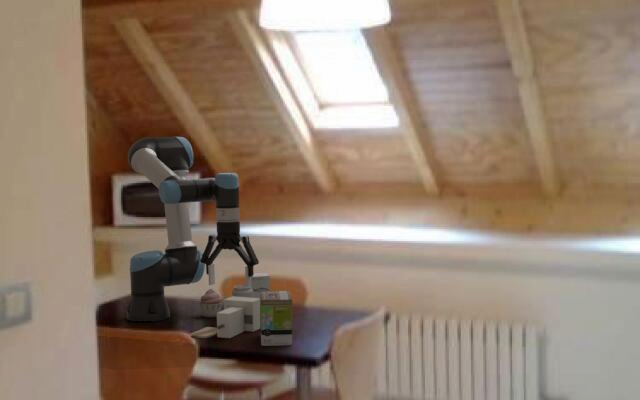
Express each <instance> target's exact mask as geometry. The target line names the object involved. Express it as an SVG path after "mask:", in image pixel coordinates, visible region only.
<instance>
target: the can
mask: <svg viewBox="0 0 640 400" xmlns="http://www.w3.org/2000/svg"><path fill="white" fill-rule="evenodd" d="M232 296H234V297H248V298H254V291H253V290H252V288H251V286H250V287H246V284H239V285H235V286H234V287H233V289H232V291H231V297H232Z"/></svg>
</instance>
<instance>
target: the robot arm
mask: <svg viewBox="0 0 640 400" xmlns="http://www.w3.org/2000/svg"><path fill="white" fill-rule="evenodd" d="M194 158H195V157H194V152H193V148H192V144H191V143H190V141H189V140H188V139H187V138H185V137H182V136H174V135H173V136H157V137H155V136H154V137H151V136H150V137H149V136H147V137H143V138H140V139H138V140H137V141H135V142H133V144H132V145H131V147H130V148H129V149H128V153H127V162H128V164H129V166H130V167H131V169H133V171H135V172H136V174H140V175H143V176H144V177H146V179H148V180H149V182H151V183H152V184H153V185H154V187H156V188H157V189H158V196H159V198H160V202H162V203H163V205H164V212H165V213H164V215H165V225H166V230H167V233H166V234H167V242H168V245H167V246H166V247H165V248H164V252H163V251H162V250H157V249H156V250H148V251H144V252H139V253H136V254H134V255H133V256H131V258H130V261H129V262H130V263H129V272H130V274H129V278H130V295H131V296H130V300H129V304H128V307H127V311H126V319H127V320H128V321H130V320H131V322H135V321H140V322H139V323H142V322H141V321H145V322H144V323H146V321H152V322H156V321H157V322H158V321H162V320H167V319H169V318H170V317H171V310H170V308H169V305H168V302H167V300H166V299H167V298H166V296H165V287H166V288H167V287H172V286H173V287H174V286H181V285H190V284H194V283H198V282H199V281H201V280H202V278H203V276H204V272H205V273H206V275H208V286H213V285H215V284H216V277H215V276H216V275H215V274H216V273H215V270H216V269H215V264H214V261H215V260H216V258H218V256H219V254H220V253H221V252H222V250H230V251H232V250H234V251H235V252H236V253H237V255H238V256H239V257H240V258H241V260H242V261H243V262H244V264H245V265H246V266H245V267H244V274H245V275H244V279H245V281H244V282H245V285H246V287H250V286H252V282H251V277H252V276H253V275H254V273H255V271H254V267H255V266H256V265H259V264H260V261H259V259H258V257H257V255H256V253H255V250H254V249H253V247H252V245H251V242H250V237H249V235H244V236H241V225H240V223H241V222H240V221H239V220H240V219H241V217H240V183H239V176H238V175H239V174H238V173H236V172H222V173H221V172H218V173H216V174H215V177H205V178H196V179H195V178H193V179H192V178H191V179H189V178H188V179H187V178H186V177H187V175H188V174H189V173H190V171H189V169H190V168H192V166H193V165H194ZM196 202H197V203H198V202H199V203H201V202H215V215H216V216H215V217H216V220H217V221H216V234H217V235H216V234H209V235H208V236H207V237H208V238H207V240H208V241H207V243H206V246H205V249H204V251H201V250H198V246H197V245H196V244H195V243H194V242H193V239H192V238H193V237H192V227H191V217H190V208H189V203H196ZM216 242H217V245H216V247H215V249H214V250H213V248H214V246H215V243H216ZM240 243H241V244H242V245H243V246H242V245H241V244H240ZM243 247H244V249H245V250H244V249H243ZM212 250H213V251H212ZM211 252H212V253H211Z"/></svg>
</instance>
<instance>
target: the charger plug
mask: <svg viewBox="0 0 640 400" xmlns="http://www.w3.org/2000/svg"><path fill="white" fill-rule="evenodd" d="M216 328H217V334H216V336H217V338H223V339H231V338H233V337H235V336H237V335H240V334H242V333H243V332H245V331H244V308H241V307H230V308H228V309H225V310H224V309H222V310H221V311H220V312H218V313H217V317H216Z"/></svg>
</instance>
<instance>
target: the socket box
mask: <svg viewBox="0 0 640 400" xmlns="http://www.w3.org/2000/svg"><path fill="white" fill-rule="evenodd" d="M223 302H224V304H223V310H225V309H228V308H230V307H241V308H244V332H252V333H253V332H255V331H258V330H260V298H248V297H234V296H232V295H231V296H229V297H227V298H225V299H223Z"/></svg>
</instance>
